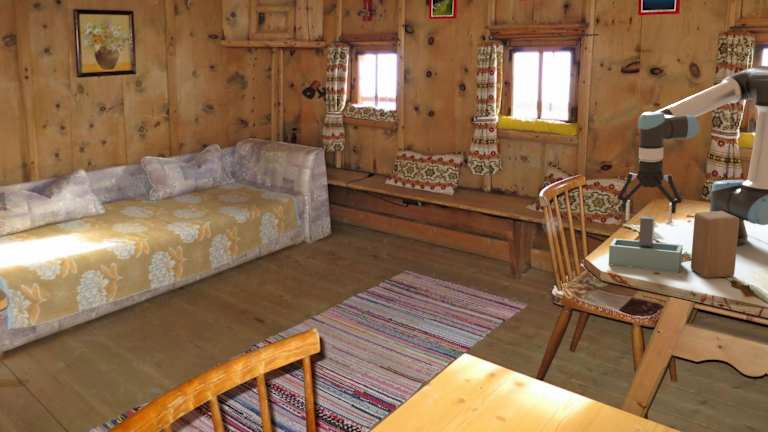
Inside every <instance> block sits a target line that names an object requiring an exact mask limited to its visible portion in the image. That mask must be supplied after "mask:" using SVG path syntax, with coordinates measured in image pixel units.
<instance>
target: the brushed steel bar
mask: <svg viewBox="0 0 768 432" xmlns="http://www.w3.org/2000/svg"><path fill="white" fill-rule="evenodd" d="M655 217H656V216H655V215H645V214H643V215H641V217H640V220H639V224H640V225H639V235H638V236H639V239H638V241H639V247H640V248H650V249H653V242H654V235H655Z"/></svg>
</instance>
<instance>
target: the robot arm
mask: <svg viewBox="0 0 768 432" xmlns="http://www.w3.org/2000/svg"><path fill="white" fill-rule="evenodd" d="M747 100H748V101H749V100H754V101H755V103H754V104H755V105H754V107H756V109H757V110H758V116H757V122H756V128H755V134H754V138H753V146H752V151H751V157H750V161H749V162H750V163H749V167H748V174H747V178H746V180H744V179H723V180H717V181H713V183H712V186H711V191H710V205H709V212H712V211H723V212H726V213H728V214H731V215H733V216H735V217H738V218H739V229H738V240H737V246H743V245H745V244H747V243H748V233H747V229H746V226H745V225H746V224H745V221H746V222H749V223H751V224H753V225H754V224H755V225H760V226H767V225H768V65H767V66H765V65H758V66H752V67H749V68H747V69H744V70H741V71H738V72H736V73H734V74H732V75H729V76H727V77H725V78H723V79H722V80H721V82H719V83H718V84H716V85H713V86H711V87H709V88H706V89H704V90H701V91H700V92H698V93H695V94H693V95H691V96H690V95H689V96H688V97H686V98H684V99H682V100H679V101H677V102H675V103H673V104H671V105H668V106H665V107H663V108H661V109H658V110H656V111H645V112H643V113H641V114H640V116H639V117H638V120H637V126H638V129H639V142H638V144H639V146H638V159H639V160H638V169H637V170H638V171H637V173H633V172H629V173H628V174H627V180H626V182H625V183H624V185H623V187H622V189H621V190H620V192H619V194H618V196H617V197H616V198H617V200H618V201H621V202H622V210H623V211H625V221H629V220H630V210H631V209H630V207H631V205H630V204H631V202H630V201H631V200H629V199H630V198H631V197H632V196H633V195H634V194H635V193H636V192H637V191H638V190H639V189H640V187H643V188H651V189H652V188H657V190H660V192H661V193H662V194H663V195H664V196H665V198H667V200H668V201H669V204H668V219H667V221H668V222H667V223H668V224H669V225H670V224H672V220H673V214H676V212H677V205H678V204H680V203H682V202H683V197H682V196H681V193H680V191H679V190H678V188H677V185H676V183H675V181H674V177H673V173H669V174H664V173H663V169H664V167H663V165H664V161H663V159H664V146H665V145H664V143H665V141H673V140H682V139H685V140H686V139H689V138H690V139H691V138H693V137H695V136H696V135H697V134H698V132H699V126H700V125H699V121H698V119H697V117H699V116H702V115H704V114H707V113H708V112H711V111H713V110H715V109H717V108H720V107H723V106H726V105H727V104H729V103H730V104H736V103H739V102H741V101H747ZM635 179H637V180H638V182H637V184H636V185H635V186H634V187H633V188H632V189H631V190H630V191H629V192H628V193H627V194H626V195H625V193H626V191H627V190H628V188H629V186H630V185H631V182H632V181H634V180H635ZM663 180H665V181H666V182H668V185H669V188H670V189H671V191H672V193H671V192H670V191H669V190H668V189H667V188H666V186H665V185H664V184H663V182H662V181H663ZM672 194H673V195H672ZM624 195H625V196H624Z"/></svg>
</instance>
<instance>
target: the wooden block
mask: <svg viewBox="0 0 768 432" xmlns="http://www.w3.org/2000/svg"><path fill="white" fill-rule="evenodd" d="M693 220H694V221H693V231H692V232H693V233H692V234H693V235H692V244H691V245H692V247H691V259H690V269H691V271H694V272H695V273H697V274H698V275H699V276H702V277H704V278H705V279H714V278H725V277H726V278H727V277H733V276H734V275H735V271H736V269H735V268H736V259H737V250H738V249H737V247H738V245H737V240H738V229H739V218H738V217H735V216H733V215H731V214H728V213H726V212H723V211H712V212H710V211H700V212H699V211H698V212H695V213H694V217H693Z"/></svg>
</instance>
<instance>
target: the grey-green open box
mask: <svg viewBox="0 0 768 432" xmlns="http://www.w3.org/2000/svg"><path fill="white" fill-rule="evenodd" d="M683 248H684V247H683V244H676V243H666V242H664V243H663V242H655V241H653V249H650V248H640V247H639V240H633V239H624V238H613V240H612V241H611V242H610V244H609V249H608V250H609V252H608V253H609V254H608V265H609V264H613V265H612V266H617V265H620V266H619V267H625V266H631V267H630V268H634V267H637V268H638V269H643V268H644V269H645V270H651V269H653V271H661V270H662V271H661V272H668V273H669V272H670V273H679V272H680V269H681V266H682V260H683V258H682V257H683ZM621 265H622V266H621ZM637 268H636V269H637ZM644 269H643V270H644Z"/></svg>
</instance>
